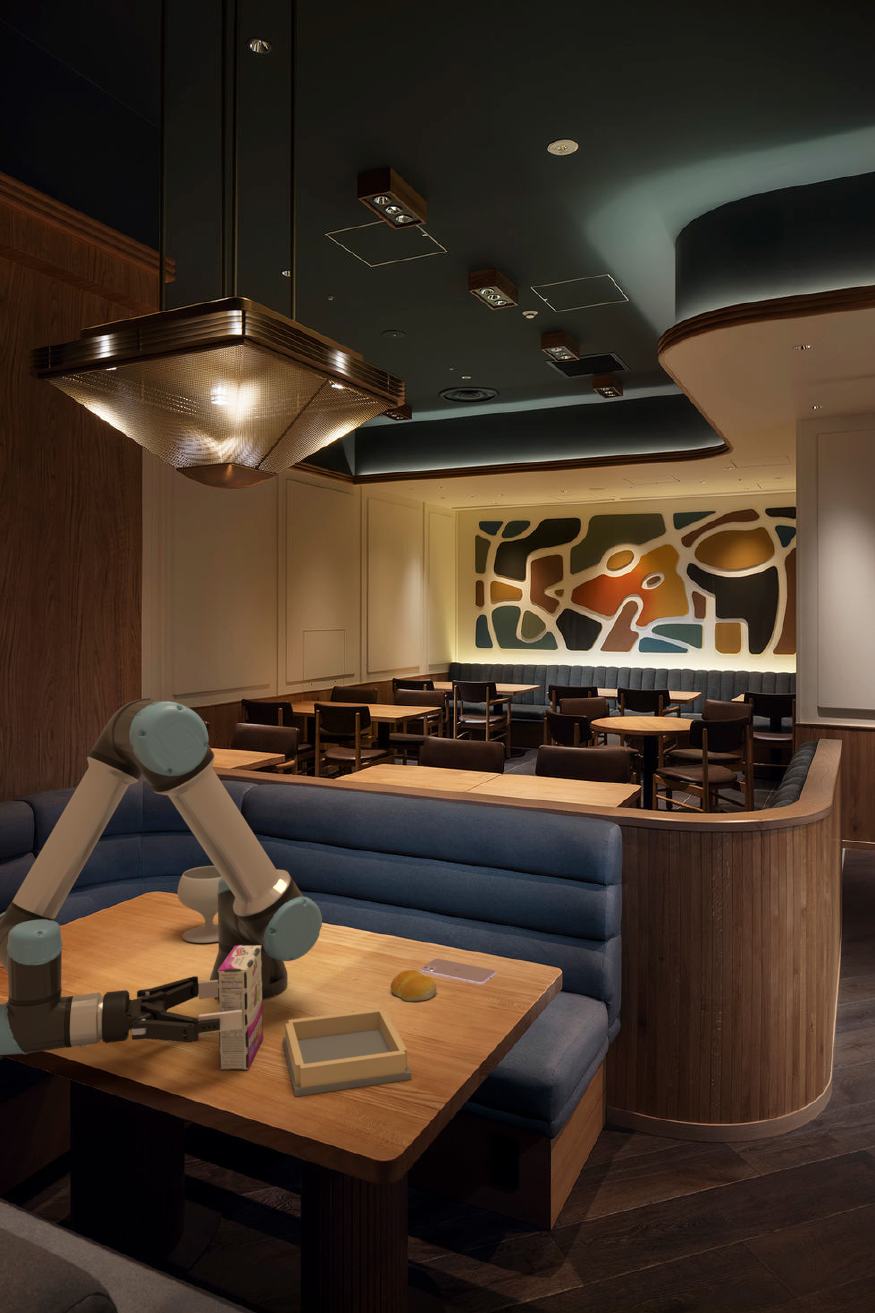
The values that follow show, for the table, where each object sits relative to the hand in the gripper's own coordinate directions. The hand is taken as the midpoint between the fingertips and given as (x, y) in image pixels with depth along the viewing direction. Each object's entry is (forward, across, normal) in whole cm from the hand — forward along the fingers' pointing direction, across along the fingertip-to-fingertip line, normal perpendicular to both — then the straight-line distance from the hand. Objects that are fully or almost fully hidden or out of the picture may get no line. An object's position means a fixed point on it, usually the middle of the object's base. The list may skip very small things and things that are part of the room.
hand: (239, 1001), depth 141 cm
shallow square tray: (+16, +7, -9) cm, 20 cm away
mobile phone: (+45, -24, -10) cm, 52 cm away
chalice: (-4, -62, -9) cm, 63 cm away
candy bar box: (0, 0, -9) cm, 9 cm away
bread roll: (+34, -17, -9) cm, 39 cm away
